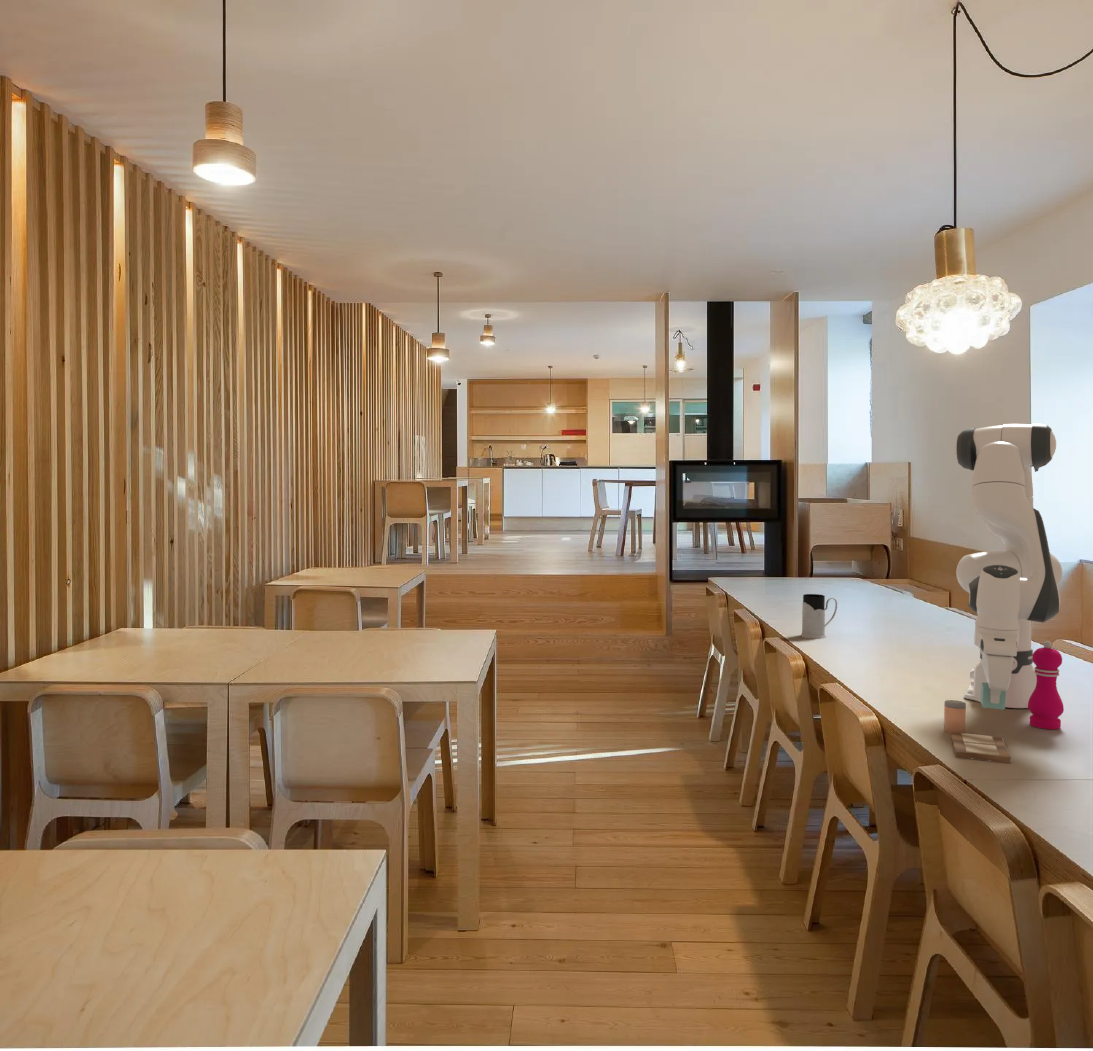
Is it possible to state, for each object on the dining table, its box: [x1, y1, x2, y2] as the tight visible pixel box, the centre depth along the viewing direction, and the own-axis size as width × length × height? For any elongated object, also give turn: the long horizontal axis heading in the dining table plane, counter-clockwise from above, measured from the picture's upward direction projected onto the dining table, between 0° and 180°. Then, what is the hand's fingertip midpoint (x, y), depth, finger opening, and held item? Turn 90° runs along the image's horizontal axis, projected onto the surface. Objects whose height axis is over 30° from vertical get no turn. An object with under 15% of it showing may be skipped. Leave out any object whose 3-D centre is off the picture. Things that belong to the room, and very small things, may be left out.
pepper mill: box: [1027, 640, 1065, 730], centre depth 196 cm, size 7×7×20 cm
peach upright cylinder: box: [943, 699, 967, 735], centre depth 192 cm, size 4×4×7 cm
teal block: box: [979, 682, 1006, 711], centre depth 190 cm, size 4×4×4 cm
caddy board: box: [950, 732, 1012, 764], centre depth 179 cm, size 14×10×1 cm
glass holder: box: [800, 593, 838, 640], centre depth 306 cm, size 9×14×15 cm, turn 107°
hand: (993, 698), depth 190 cm, fingers closed on teal block, 4 cm apart
